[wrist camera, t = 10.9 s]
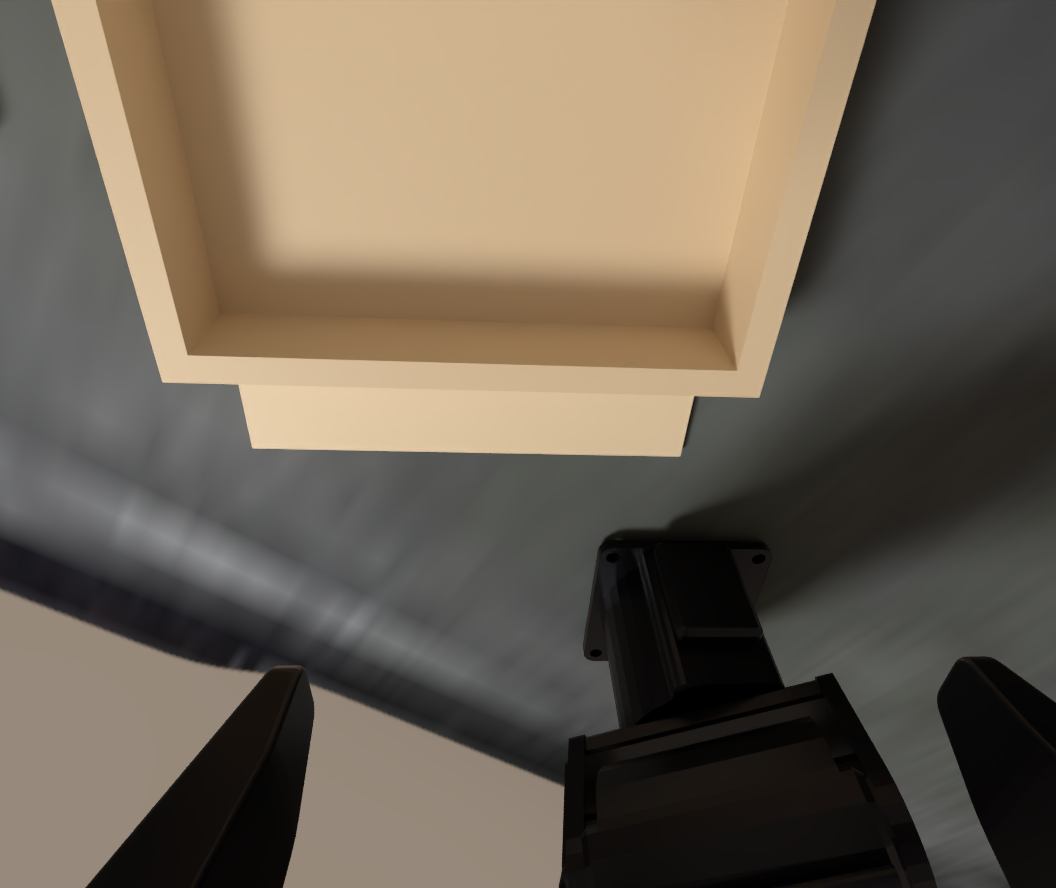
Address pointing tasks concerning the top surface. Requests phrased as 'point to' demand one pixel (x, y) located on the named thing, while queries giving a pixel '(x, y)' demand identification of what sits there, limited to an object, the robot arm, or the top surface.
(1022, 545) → the top surface
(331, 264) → the tray
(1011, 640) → the top surface
